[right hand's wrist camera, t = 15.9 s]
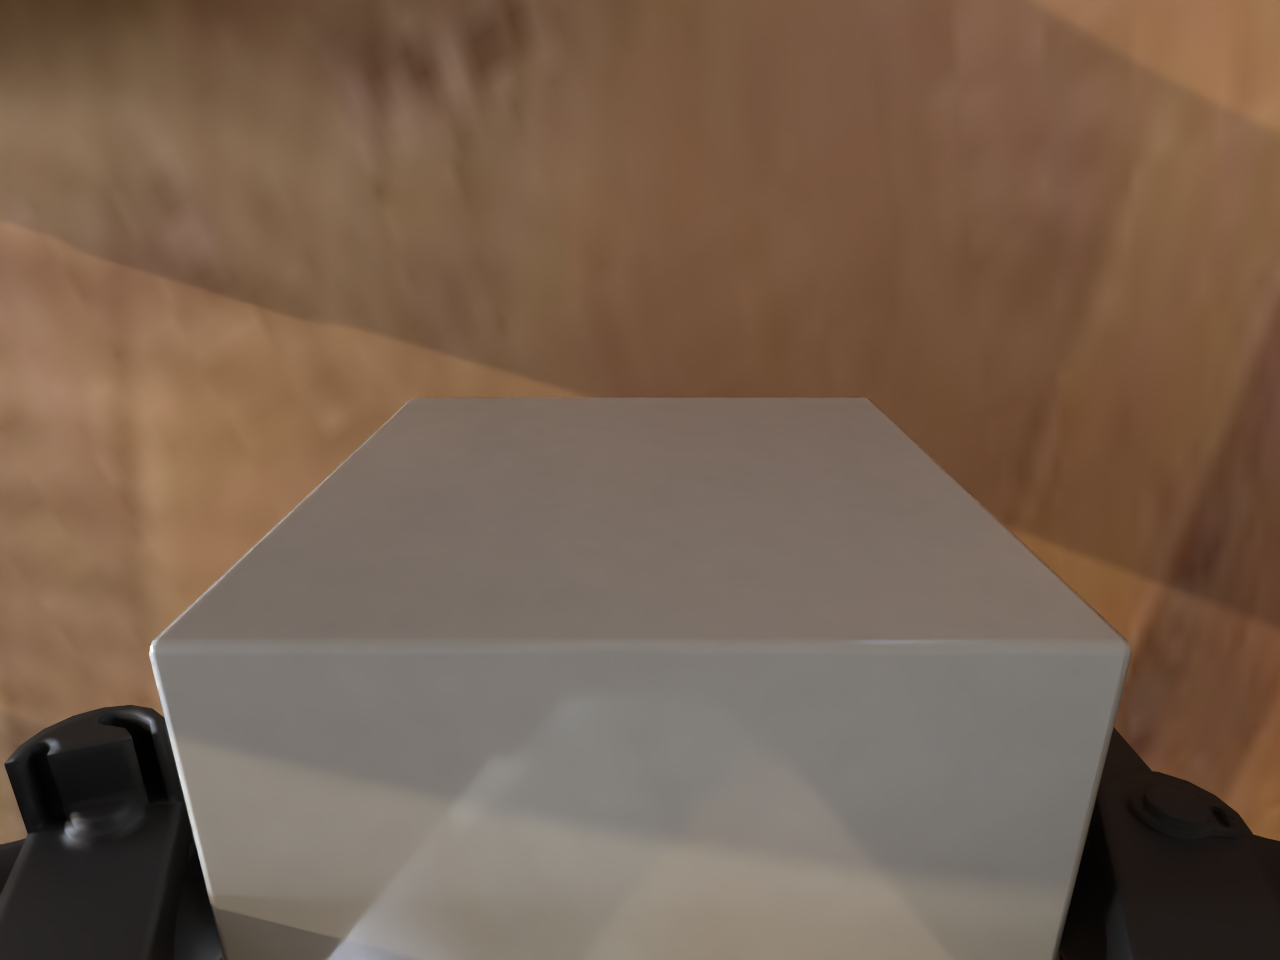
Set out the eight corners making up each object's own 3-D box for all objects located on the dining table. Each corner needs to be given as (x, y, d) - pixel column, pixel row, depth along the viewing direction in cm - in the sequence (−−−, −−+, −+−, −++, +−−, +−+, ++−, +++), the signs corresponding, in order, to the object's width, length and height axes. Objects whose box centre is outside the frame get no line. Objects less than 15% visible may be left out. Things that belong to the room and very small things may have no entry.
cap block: (447, 770, 15) (290, 1250, 8) (409, 396, 12) (141, 644, 6) (832, 770, 15) (989, 1250, 8) (870, 396, 12) (1140, 644, 6)
